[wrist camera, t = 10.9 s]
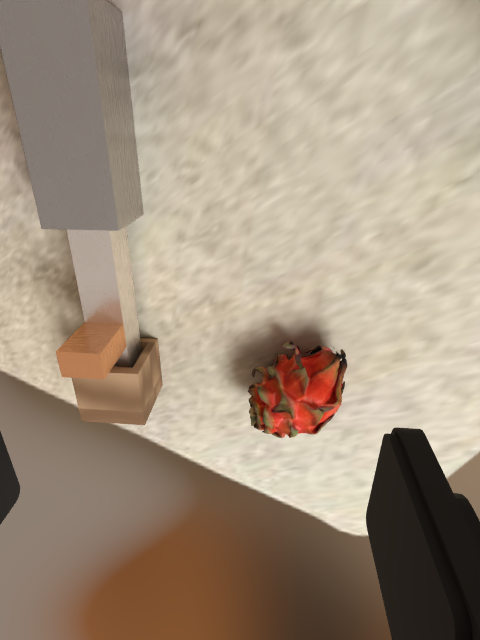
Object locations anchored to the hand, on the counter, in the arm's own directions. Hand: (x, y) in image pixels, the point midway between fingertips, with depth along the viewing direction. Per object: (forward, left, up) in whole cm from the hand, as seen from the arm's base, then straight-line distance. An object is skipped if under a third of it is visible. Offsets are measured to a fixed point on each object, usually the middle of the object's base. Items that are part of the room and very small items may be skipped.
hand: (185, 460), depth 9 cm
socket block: (+16, -13, -28) cm, 35 cm away
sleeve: (-7, -13, -28) cm, 32 cm away
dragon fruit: (+16, +5, -29) cm, 33 cm away
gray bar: (+5, -13, -27) cm, 30 cm away
